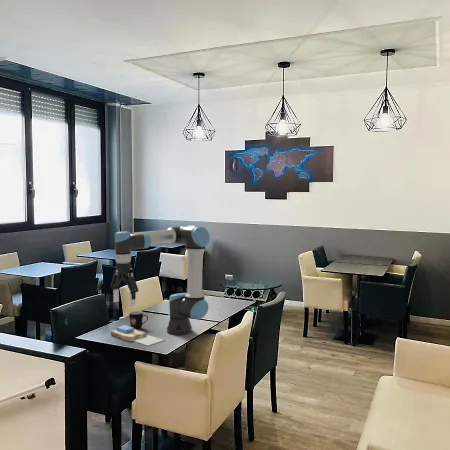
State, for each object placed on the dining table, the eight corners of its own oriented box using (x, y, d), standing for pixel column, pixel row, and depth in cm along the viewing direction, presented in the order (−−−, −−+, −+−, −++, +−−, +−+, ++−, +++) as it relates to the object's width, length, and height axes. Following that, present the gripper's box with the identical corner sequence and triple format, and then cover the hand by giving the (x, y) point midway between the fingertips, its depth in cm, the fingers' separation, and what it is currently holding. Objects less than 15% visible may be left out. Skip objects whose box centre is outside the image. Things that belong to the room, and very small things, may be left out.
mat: (148, 335, 262) (148, 335, 262) (164, 340, 253) (164, 340, 253) (132, 340, 253) (132, 340, 253) (147, 346, 244) (147, 345, 244)
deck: (127, 330, 272) (127, 326, 272) (146, 336, 261) (146, 332, 260) (110, 335, 263) (110, 331, 263) (129, 341, 252) (129, 337, 251)
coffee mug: (126, 328, 278) (126, 312, 277) (137, 325, 284) (137, 310, 284) (138, 332, 270) (137, 315, 269) (149, 328, 276) (148, 313, 276)
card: (116, 330, 265) (116, 327, 264) (124, 328, 269) (124, 325, 269) (125, 333, 259) (125, 330, 259) (134, 331, 263) (133, 327, 263)
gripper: (102, 261, 230) (103, 301, 231) (132, 265, 214) (133, 308, 215) (114, 259, 236) (115, 299, 237) (144, 263, 219) (145, 305, 221)
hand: (124, 303), depth 226 cm, fingers open, 13 cm apart
